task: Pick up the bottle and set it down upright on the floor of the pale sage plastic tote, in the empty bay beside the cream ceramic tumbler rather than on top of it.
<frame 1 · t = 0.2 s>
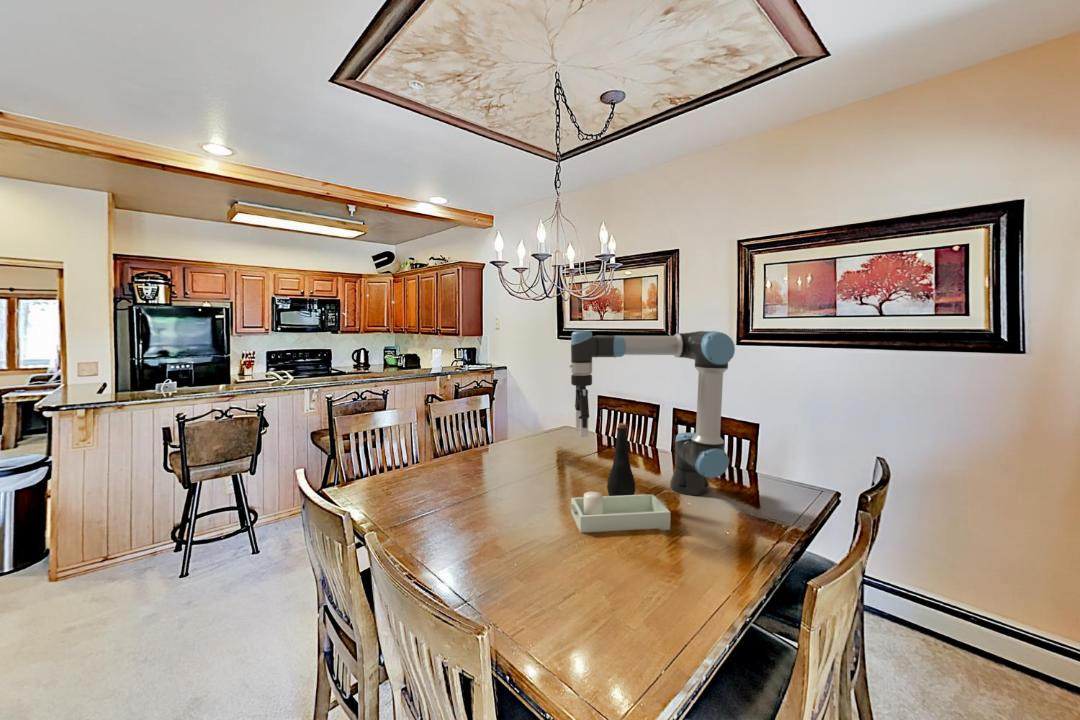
hand: (581, 432, 166), 28 cm above the table, fingers open, 13 cm apart
tote: (618, 521, 156), on the table
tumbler: (592, 520, 155), point 1 cm above the table, touching tote
bottle: (620, 502, 173), on the table
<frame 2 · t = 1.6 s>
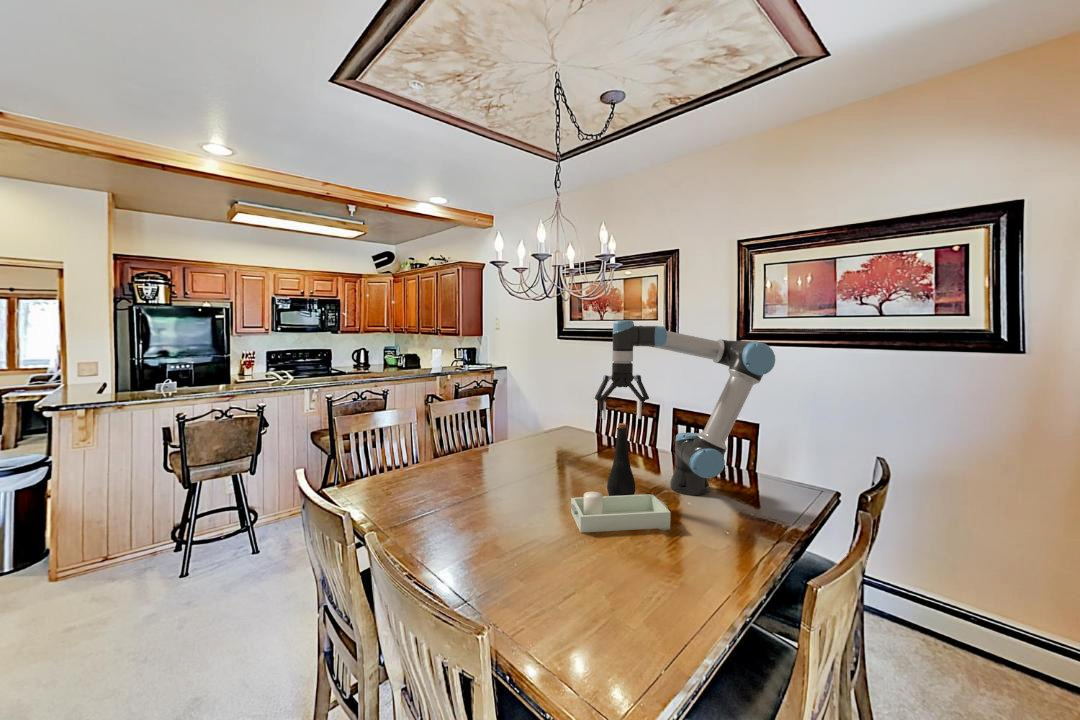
hand: (621, 418, 171), 32 cm above the table, fingers open, 13 cm apart
nothing on the table moved.
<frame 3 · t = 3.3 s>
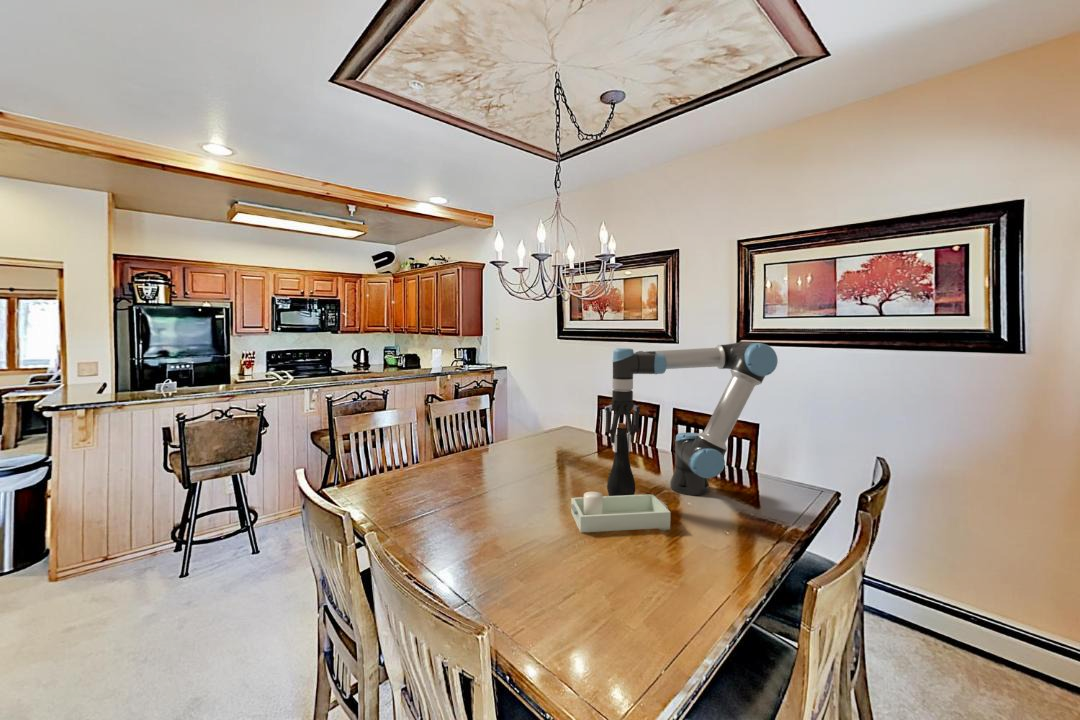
hand: (621, 450, 172), 20 cm above the table, fingers closed on bottle, 5 cm apart
bottle: (620, 502, 173), on the table, touching gripper
everything else where it was.
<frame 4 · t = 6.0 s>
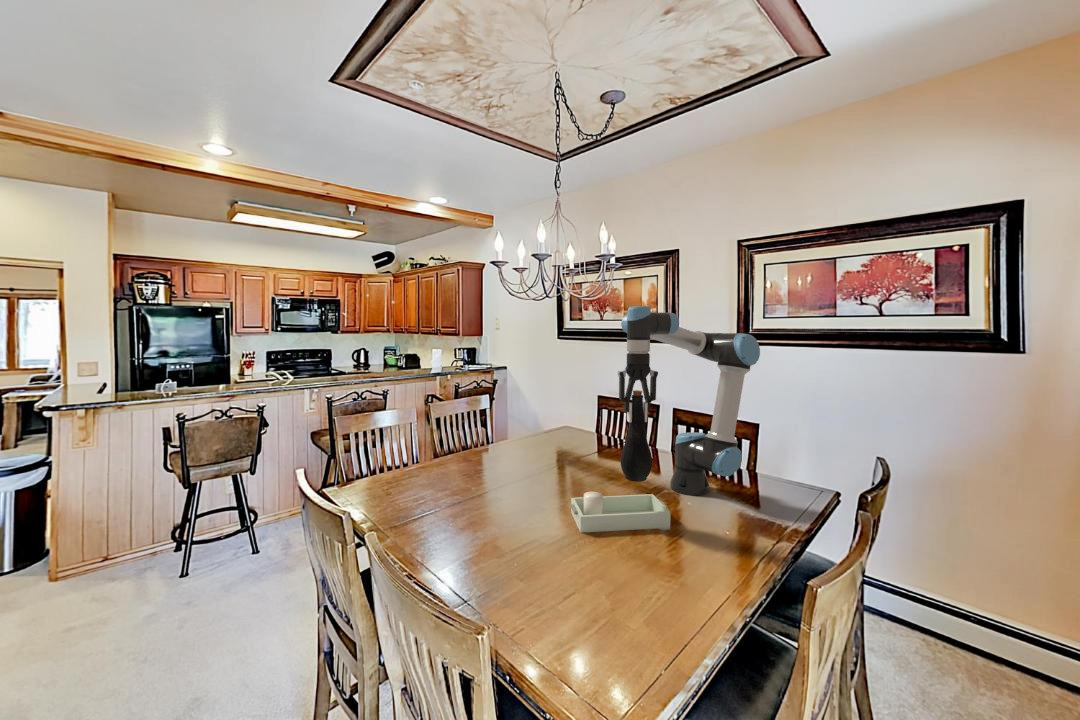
hand: (637, 421, 154), 35 cm above the table, fingers closed on bottle, 5 cm apart
bottle: (635, 478, 156), point 15 cm above the table, touching gripper
everything else where it was.
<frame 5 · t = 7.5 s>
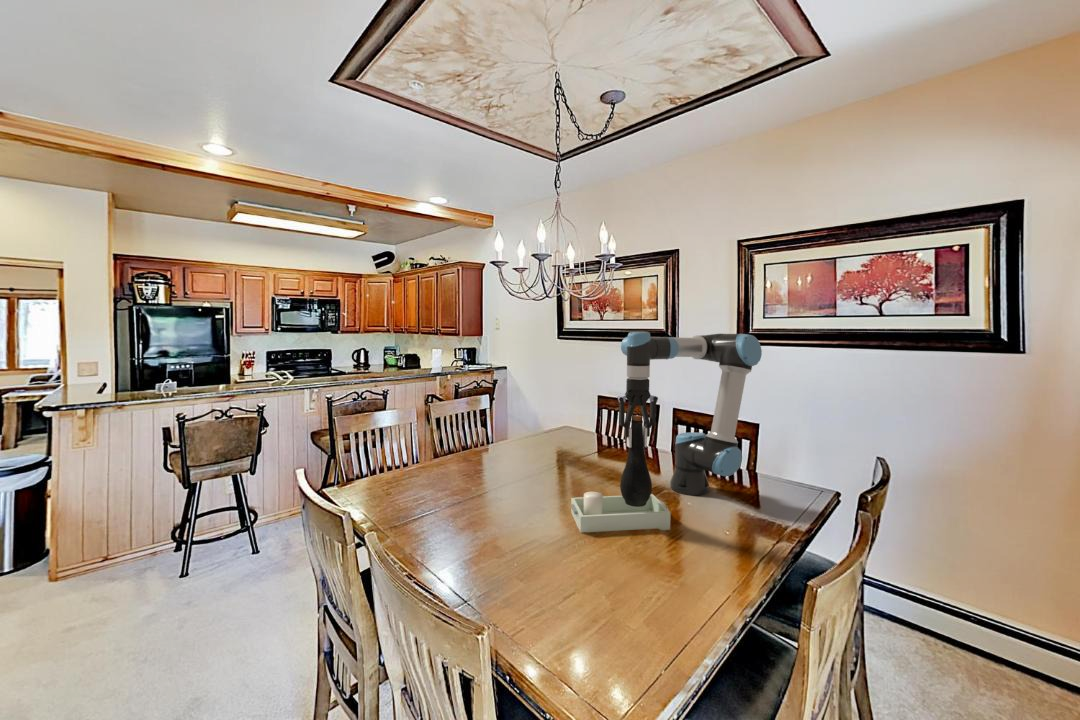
hand: (636, 446, 155), 26 cm above the table, fingers closed on bottle, 5 cm apart
bottle: (635, 503, 156), point 6 cm above the table, touching gripper
everything else where it was.
when the fingers open (22 cm above the table, at t = 8.6 s): bottle drops 2 cm, resting on tote.
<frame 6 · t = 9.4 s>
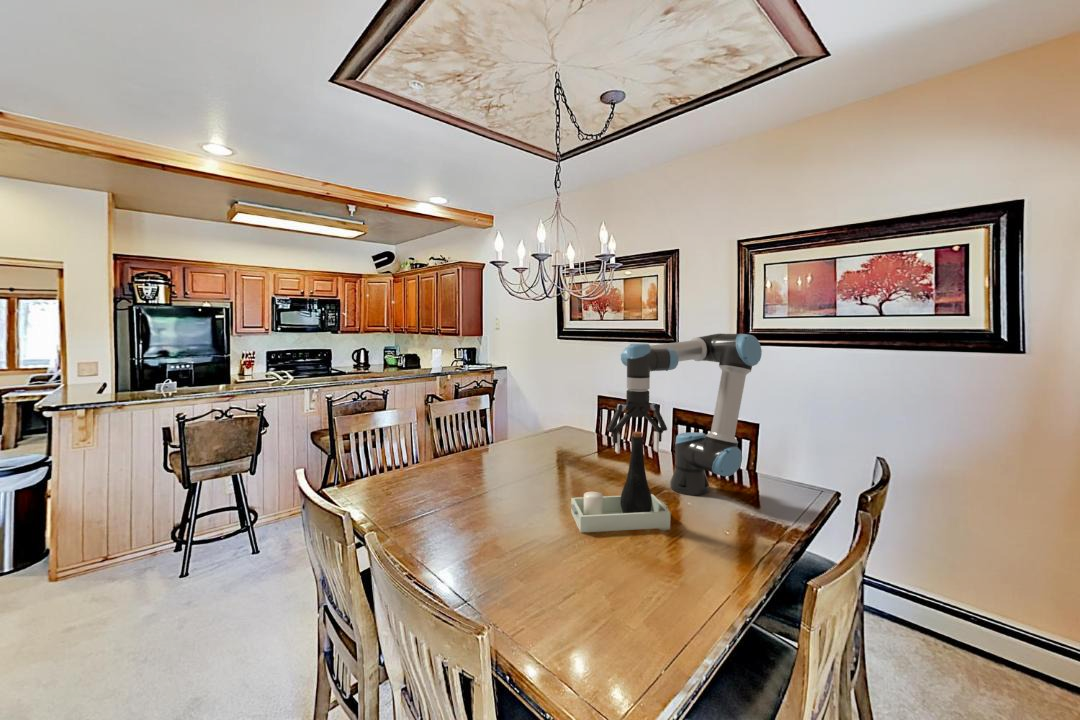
hand: (636, 451, 155), 24 cm above the table, fingers open, 13 cm apart
bottle: (635, 519, 157), point 1 cm above the table, touching tote
everything else where it was.
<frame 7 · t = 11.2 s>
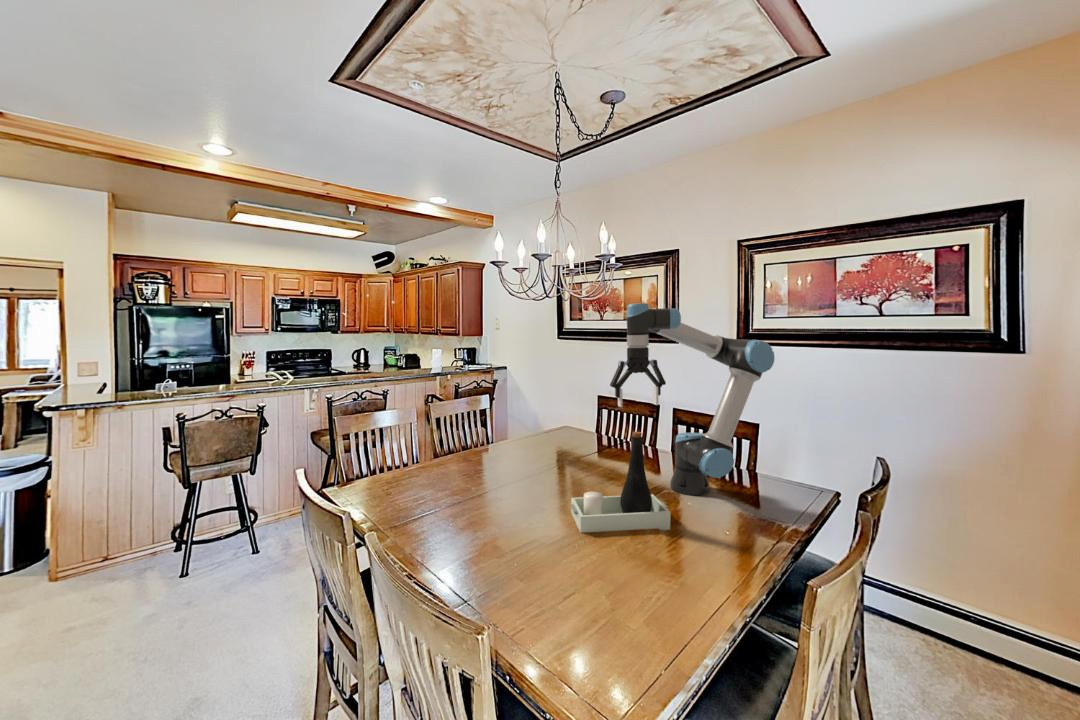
hand: (638, 405, 165), 38 cm above the table, fingers open, 13 cm apart
nothing on the table moved.
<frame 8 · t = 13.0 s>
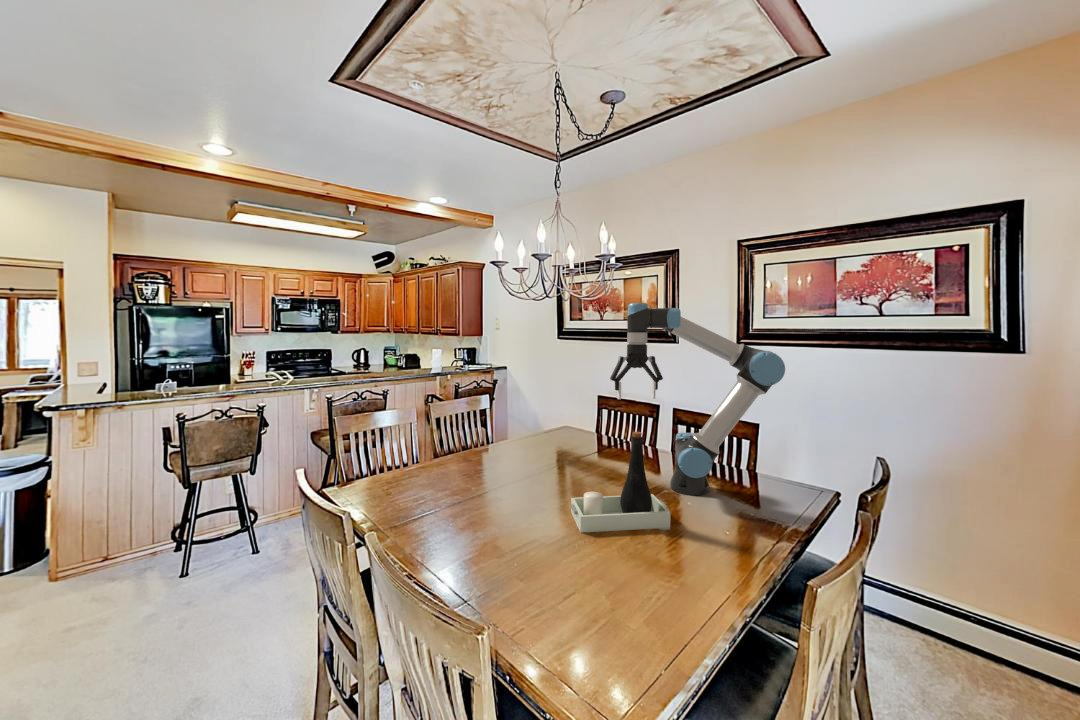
hand: (636, 398, 176), 39 cm above the table, fingers open, 13 cm apart
nothing on the table moved.
at the end: bottle inside the target area (1.5 cm from its centre), point 0.6 cm above the table; bottle tilted 0°; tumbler tilted 0° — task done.
